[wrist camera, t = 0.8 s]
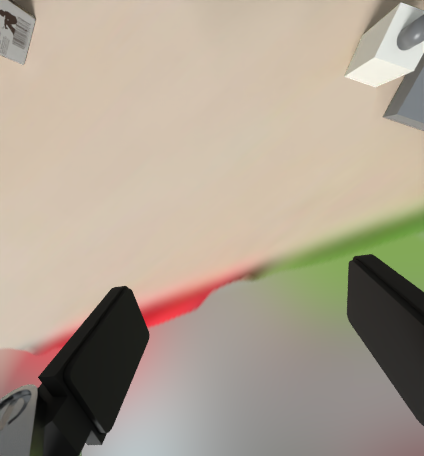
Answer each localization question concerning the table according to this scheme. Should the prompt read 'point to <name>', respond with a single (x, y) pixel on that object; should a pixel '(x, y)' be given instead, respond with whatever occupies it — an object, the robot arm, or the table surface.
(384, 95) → the table surface
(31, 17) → the coffee box
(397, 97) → the socket plate
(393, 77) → the plug
